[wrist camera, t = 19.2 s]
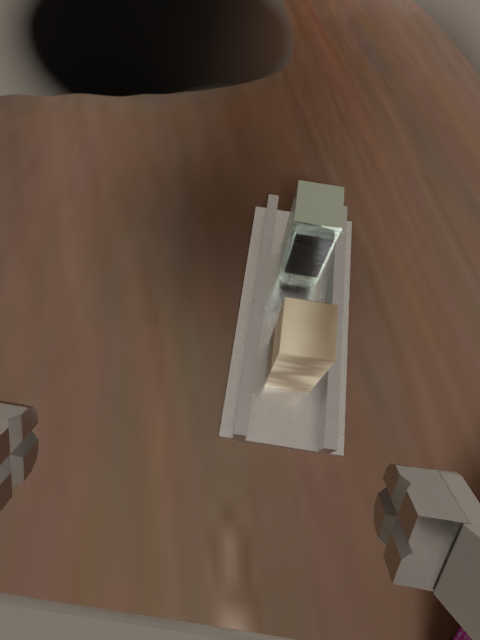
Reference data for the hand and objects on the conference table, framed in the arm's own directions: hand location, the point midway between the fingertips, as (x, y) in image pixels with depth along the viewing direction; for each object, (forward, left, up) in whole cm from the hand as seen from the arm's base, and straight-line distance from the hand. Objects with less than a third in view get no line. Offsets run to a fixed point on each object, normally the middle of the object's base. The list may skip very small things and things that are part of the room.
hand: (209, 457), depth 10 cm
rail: (+6, +19, -31) cm, 37 cm away
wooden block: (+6, +13, -30) cm, 34 cm away
